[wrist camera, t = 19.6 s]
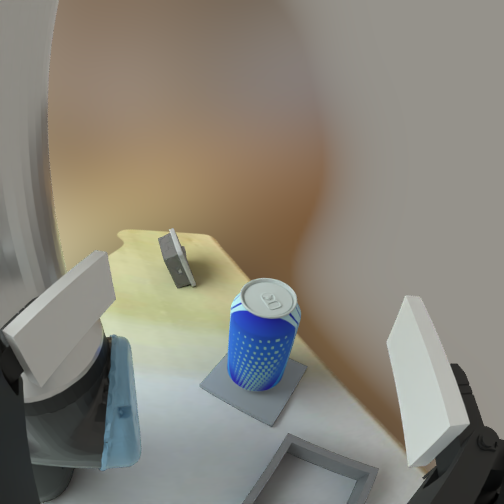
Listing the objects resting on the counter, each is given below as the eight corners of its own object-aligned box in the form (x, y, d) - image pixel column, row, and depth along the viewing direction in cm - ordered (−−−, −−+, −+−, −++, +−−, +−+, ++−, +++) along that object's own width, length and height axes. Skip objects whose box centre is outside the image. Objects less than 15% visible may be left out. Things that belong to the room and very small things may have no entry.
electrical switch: (197, 288, 59) (191, 249, 53) (171, 294, 57) (163, 256, 52) (186, 261, 66) (180, 224, 60) (163, 266, 64) (156, 230, 59)
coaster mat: (271, 426, 36) (272, 425, 36) (199, 386, 41) (199, 384, 40) (306, 368, 45) (307, 366, 45) (242, 337, 50) (242, 335, 49)
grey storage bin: (326, 555, 20) (337, 556, 18) (231, 517, 25) (232, 515, 22) (366, 476, 29) (378, 468, 27) (282, 442, 34) (288, 432, 32)
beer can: (220, 387, 40) (222, 312, 31) (235, 345, 47) (242, 267, 38) (277, 401, 39) (301, 330, 30) (286, 357, 46) (307, 281, 37)
